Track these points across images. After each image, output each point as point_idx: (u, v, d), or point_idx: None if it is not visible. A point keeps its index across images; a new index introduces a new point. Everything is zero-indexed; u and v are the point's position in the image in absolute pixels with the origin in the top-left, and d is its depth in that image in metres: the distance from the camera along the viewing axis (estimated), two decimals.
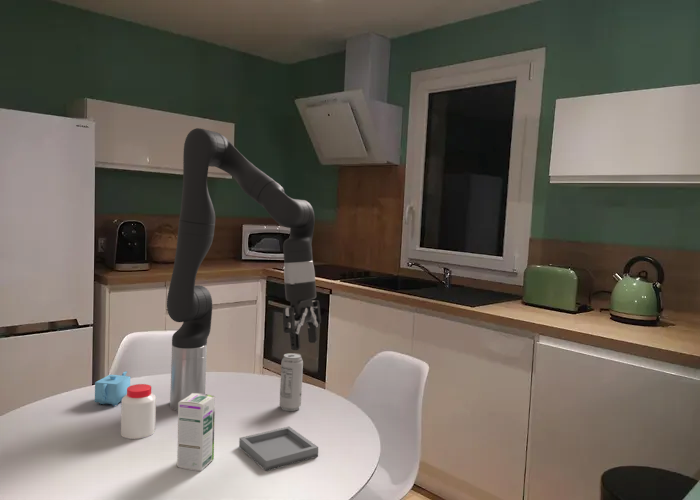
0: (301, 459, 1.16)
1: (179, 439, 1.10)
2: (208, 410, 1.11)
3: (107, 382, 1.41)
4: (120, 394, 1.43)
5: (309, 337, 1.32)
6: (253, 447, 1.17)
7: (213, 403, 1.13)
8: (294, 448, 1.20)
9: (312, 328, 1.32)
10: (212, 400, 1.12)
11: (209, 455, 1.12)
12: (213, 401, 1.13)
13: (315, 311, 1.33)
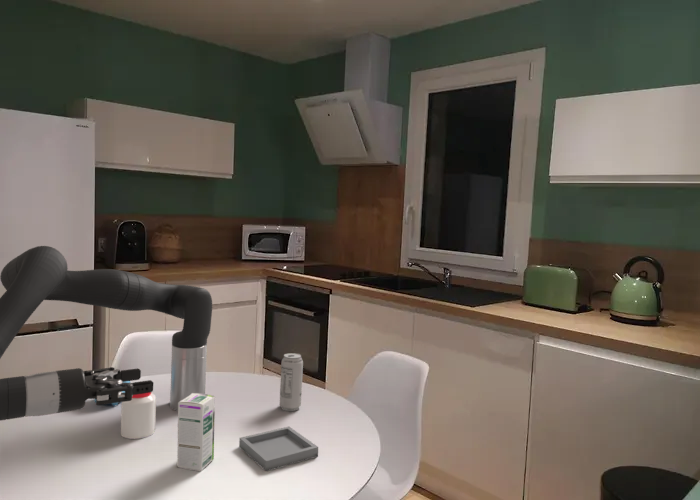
0: (301, 459, 1.16)
1: (179, 439, 1.10)
2: (208, 410, 1.11)
3: None
4: None
5: None
6: (253, 447, 1.17)
7: (213, 403, 1.13)
8: (294, 448, 1.20)
9: None
10: (212, 400, 1.12)
11: (209, 455, 1.12)
12: (213, 401, 1.13)
13: None
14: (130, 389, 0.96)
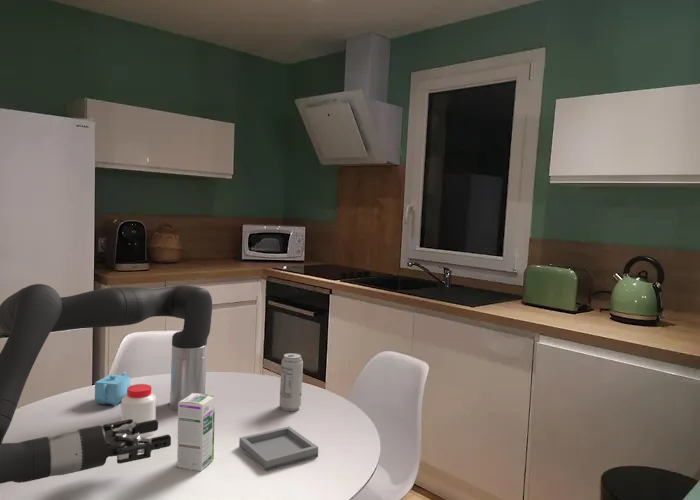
0: (301, 459, 1.16)
1: (179, 439, 1.10)
2: (208, 410, 1.11)
3: (107, 382, 1.41)
4: (120, 394, 1.43)
5: None
6: (253, 447, 1.17)
7: (213, 403, 1.13)
8: (294, 448, 1.20)
9: None
10: (212, 400, 1.12)
11: (209, 455, 1.12)
12: (213, 401, 1.13)
13: None
14: (149, 446, 0.99)
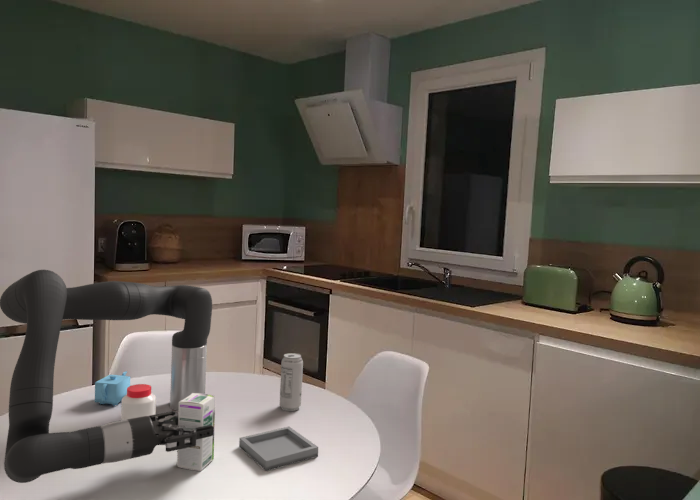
0: (301, 459, 1.16)
1: None
2: (208, 410, 1.11)
3: (107, 382, 1.41)
4: (120, 394, 1.43)
5: None
6: (253, 447, 1.17)
7: (213, 403, 1.13)
8: (294, 448, 1.20)
9: None
10: (212, 400, 1.12)
11: (209, 455, 1.12)
12: (213, 401, 1.13)
13: None
14: (195, 435, 1.04)
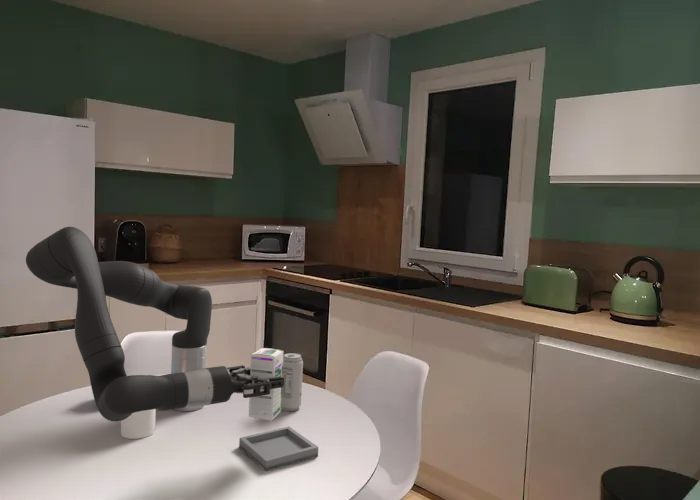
0: (301, 459, 1.16)
1: None
2: (278, 363, 1.16)
3: None
4: None
5: None
6: (253, 447, 1.17)
7: (282, 357, 1.18)
8: (294, 448, 1.20)
9: None
10: (281, 354, 1.18)
11: (278, 406, 1.17)
12: (282, 355, 1.18)
13: None
14: (269, 384, 1.10)
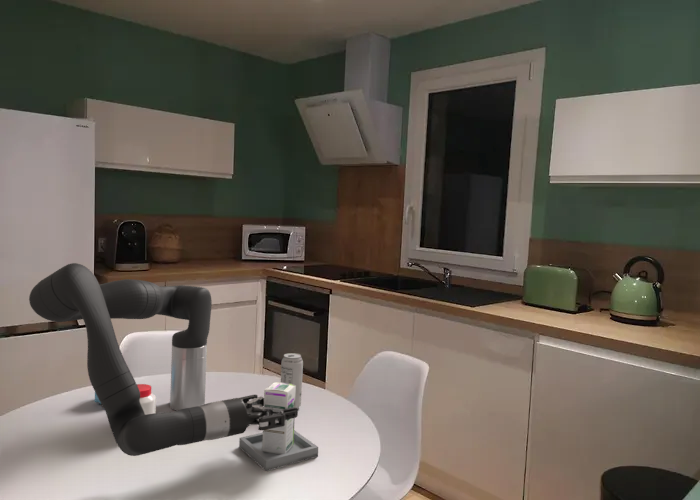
0: (301, 459, 1.16)
1: None
2: (291, 398, 1.18)
3: None
4: None
5: None
6: (253, 447, 1.17)
7: (294, 391, 1.20)
8: (294, 448, 1.20)
9: None
10: (294, 388, 1.20)
11: (290, 440, 1.20)
12: (294, 390, 1.20)
13: None
14: (284, 416, 1.12)
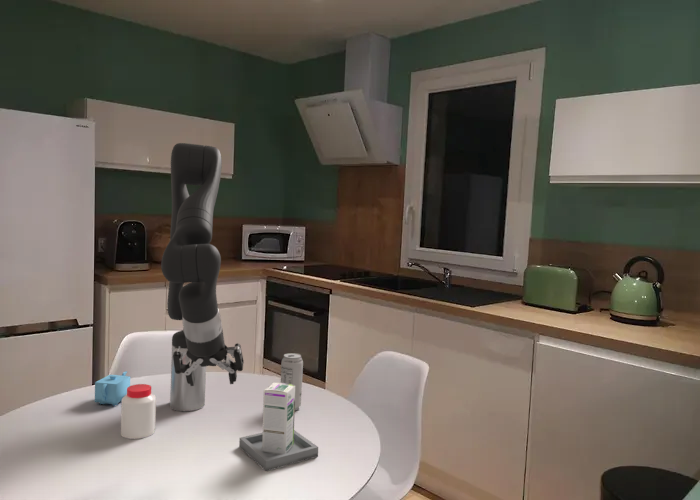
0: (301, 459, 1.16)
1: (264, 425, 1.17)
2: (291, 398, 1.18)
3: (107, 382, 1.41)
4: (120, 394, 1.43)
5: None
6: (253, 447, 1.17)
7: (294, 392, 1.20)
8: (294, 448, 1.20)
9: None
10: (293, 389, 1.20)
11: (290, 440, 1.19)
12: (294, 390, 1.20)
13: None
14: (243, 362, 1.15)
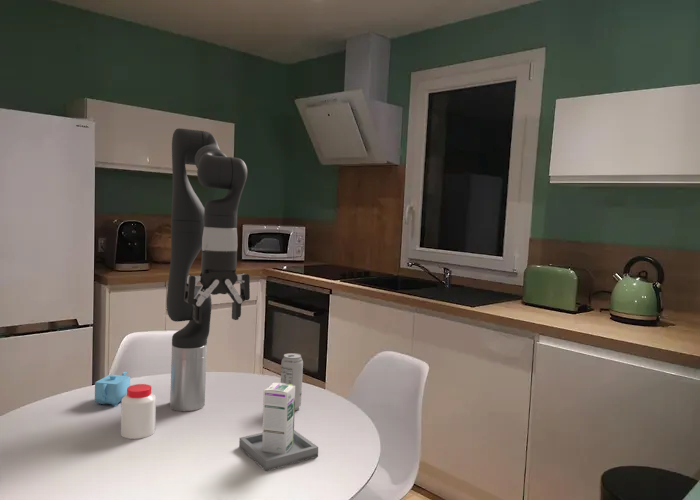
0: (301, 459, 1.16)
1: (264, 425, 1.17)
2: (291, 398, 1.18)
3: (107, 382, 1.41)
4: (120, 394, 1.43)
5: (232, 313, 1.19)
6: (253, 447, 1.17)
7: (294, 392, 1.20)
8: (294, 448, 1.20)
9: (234, 304, 1.18)
10: (293, 389, 1.20)
11: (290, 440, 1.19)
12: (294, 390, 1.20)
13: (243, 286, 1.18)
14: None
